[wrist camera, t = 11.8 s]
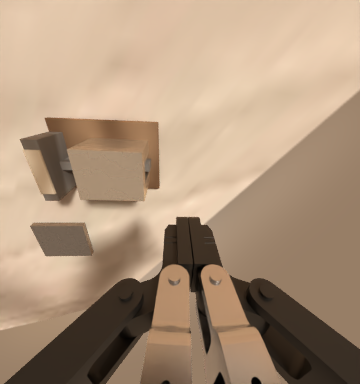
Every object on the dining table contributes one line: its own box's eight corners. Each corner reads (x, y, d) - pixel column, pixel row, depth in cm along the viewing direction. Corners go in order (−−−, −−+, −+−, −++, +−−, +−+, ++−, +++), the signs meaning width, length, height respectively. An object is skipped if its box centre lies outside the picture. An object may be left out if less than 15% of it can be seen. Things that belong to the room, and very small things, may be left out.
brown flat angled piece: (48, 252, 30) (45, 256, 29) (33, 222, 27) (30, 226, 26) (93, 251, 31) (91, 255, 30) (84, 222, 27) (82, 226, 26)
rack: (68, 185, 24) (44, 205, 19) (46, 117, 19) (8, 122, 15) (159, 186, 25) (157, 205, 20) (158, 122, 20) (154, 128, 16)
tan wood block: (99, 179, 23) (80, 199, 18) (91, 137, 20) (66, 149, 15) (149, 180, 23) (144, 201, 19) (148, 140, 21) (141, 152, 16)
